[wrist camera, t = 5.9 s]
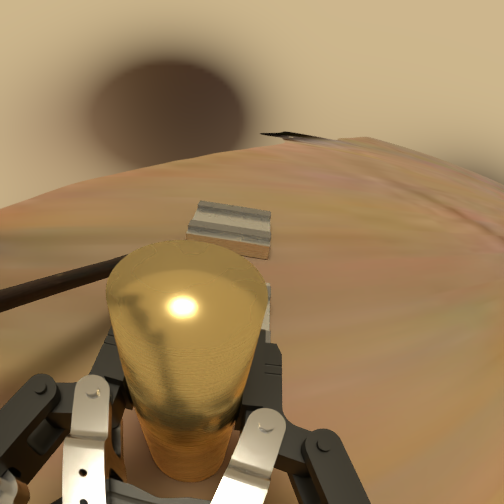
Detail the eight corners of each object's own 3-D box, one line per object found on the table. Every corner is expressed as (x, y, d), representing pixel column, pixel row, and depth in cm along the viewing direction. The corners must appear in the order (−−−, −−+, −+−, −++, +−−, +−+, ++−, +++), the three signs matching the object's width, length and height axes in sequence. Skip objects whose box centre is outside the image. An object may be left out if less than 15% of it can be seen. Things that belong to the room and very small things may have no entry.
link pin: (144, 473, 12) (78, 326, 6) (159, 412, 16) (137, 231, 9) (221, 487, 12) (266, 363, 6) (227, 425, 16) (268, 252, 9)
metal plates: (144, 351, 19) (142, 333, 18) (200, 212, 36) (201, 197, 35) (264, 371, 19) (270, 355, 18) (267, 222, 37) (270, 208, 36)
